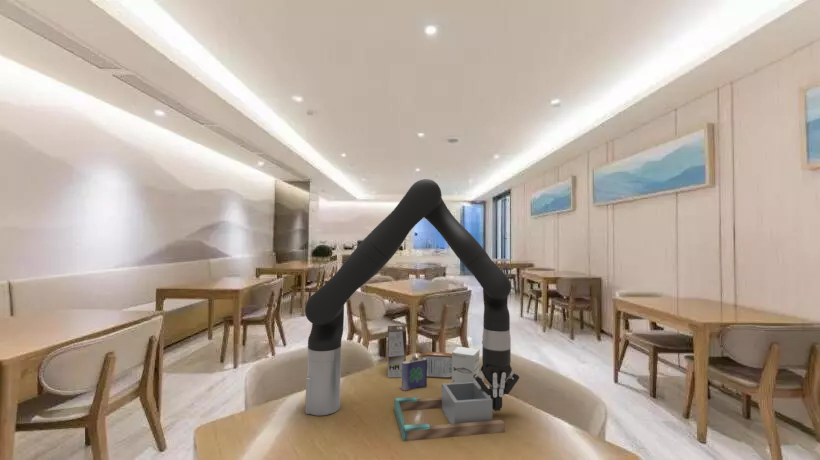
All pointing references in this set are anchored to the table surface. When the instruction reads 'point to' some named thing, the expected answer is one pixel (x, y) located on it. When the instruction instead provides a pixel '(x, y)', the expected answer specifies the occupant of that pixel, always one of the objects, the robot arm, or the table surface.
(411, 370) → the flask
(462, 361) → the supplement box
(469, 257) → the robot arm
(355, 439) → the table surface
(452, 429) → the bar
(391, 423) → the table surface
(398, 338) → the coffee box
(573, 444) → the table surface
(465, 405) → the grey storage bin
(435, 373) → the tin
